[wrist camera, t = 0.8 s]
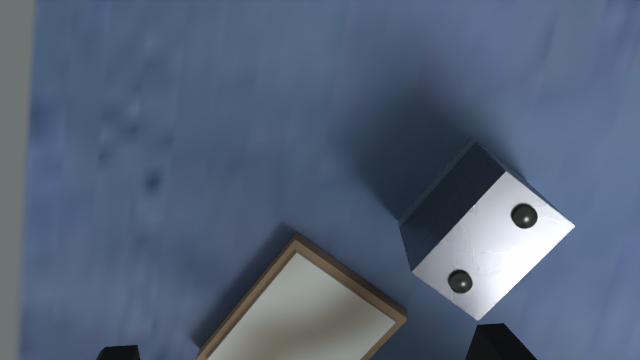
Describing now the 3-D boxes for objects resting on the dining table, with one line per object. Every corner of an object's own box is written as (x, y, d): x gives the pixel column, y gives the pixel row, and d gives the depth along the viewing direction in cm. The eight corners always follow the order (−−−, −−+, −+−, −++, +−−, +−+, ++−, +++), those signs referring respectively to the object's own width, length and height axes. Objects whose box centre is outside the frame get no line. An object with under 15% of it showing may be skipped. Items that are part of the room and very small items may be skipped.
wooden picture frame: (405, 309, 30) (408, 321, 29) (304, 416, 33) (302, 430, 32) (296, 231, 29) (294, 241, 28) (199, 349, 32) (194, 361, 31)
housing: (527, 181, 28) (577, 227, 22) (451, 260, 29) (479, 323, 24) (471, 136, 27) (507, 172, 21) (397, 220, 29) (411, 274, 23)
